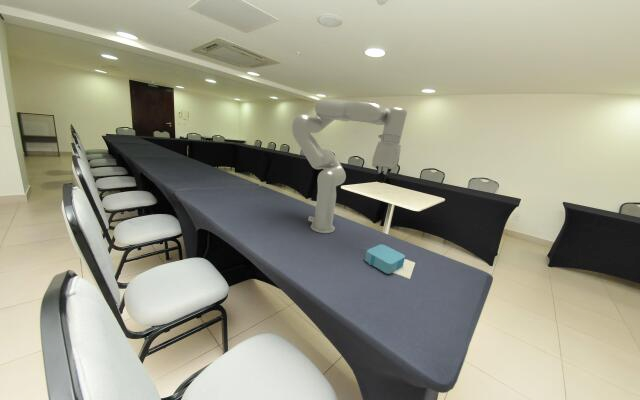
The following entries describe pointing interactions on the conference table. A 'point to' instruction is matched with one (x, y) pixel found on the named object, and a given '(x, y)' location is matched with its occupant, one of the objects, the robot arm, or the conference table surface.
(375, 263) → the light blue flat box
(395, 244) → the conference table surface
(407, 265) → the beige mat
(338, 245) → the conference table surface
